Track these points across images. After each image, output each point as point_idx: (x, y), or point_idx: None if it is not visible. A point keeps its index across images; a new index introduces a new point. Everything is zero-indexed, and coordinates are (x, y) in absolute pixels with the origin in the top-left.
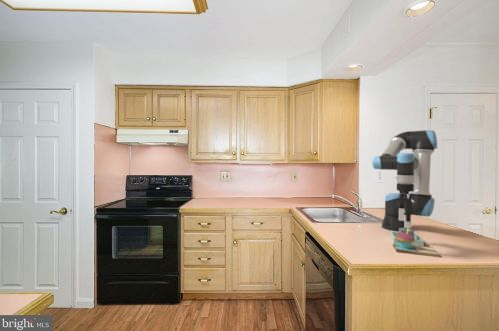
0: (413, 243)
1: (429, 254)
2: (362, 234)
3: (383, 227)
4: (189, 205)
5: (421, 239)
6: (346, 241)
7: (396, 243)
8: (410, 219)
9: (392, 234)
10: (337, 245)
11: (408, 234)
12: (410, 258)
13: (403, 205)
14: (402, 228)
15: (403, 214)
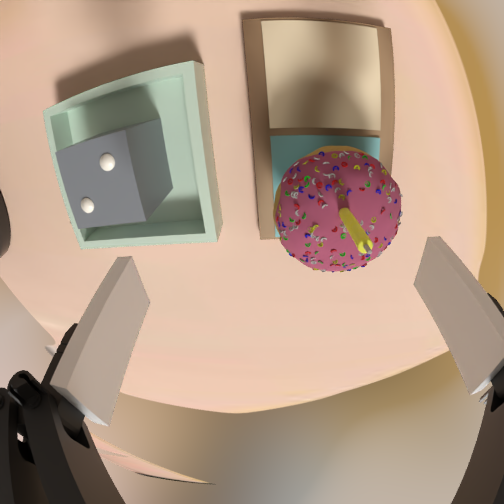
0: (206, 121)
1: (392, 78)
2: (150, 333)
3: (6, 251)
4: (183, 479)
5: (161, 74)
6: (289, 374)
7: (220, 212)
8: (488, 304)
9: (140, 244)
10: (344, 383)
11: (364, 208)
12: (445, 187)
13: (80, 463)
14: (86, 209)
15: (107, 326)
